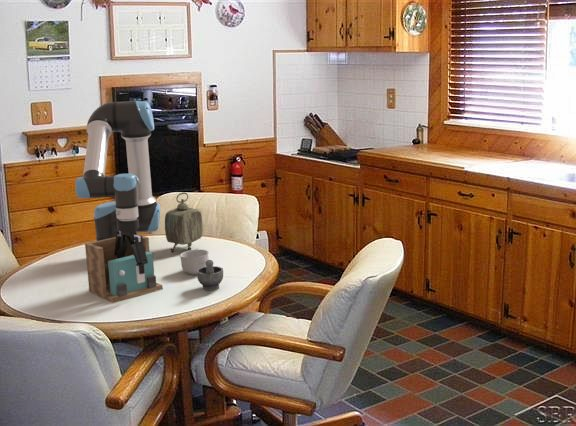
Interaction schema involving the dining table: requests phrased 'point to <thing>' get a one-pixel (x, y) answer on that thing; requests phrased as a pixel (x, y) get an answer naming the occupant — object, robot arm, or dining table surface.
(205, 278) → the mortar and pestle
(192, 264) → the teacup
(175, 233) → the tabletop clock
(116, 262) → the door
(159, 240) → the dining table surface
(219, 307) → the dining table surface
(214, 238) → the dining table surface
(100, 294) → the cabinet
